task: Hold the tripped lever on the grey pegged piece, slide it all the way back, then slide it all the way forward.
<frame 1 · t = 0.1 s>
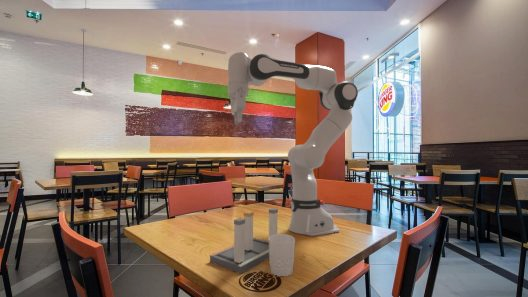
hand: (238, 123, 113), 48 cm above the table, tool pointing down, fingers open, 8 cm apart
white cup: (281, 272, 78), on the table
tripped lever: (248, 230, 89), point 9 cm above the table, slide at 0.0 cm
grey pegged piece: (248, 256, 89), on the table
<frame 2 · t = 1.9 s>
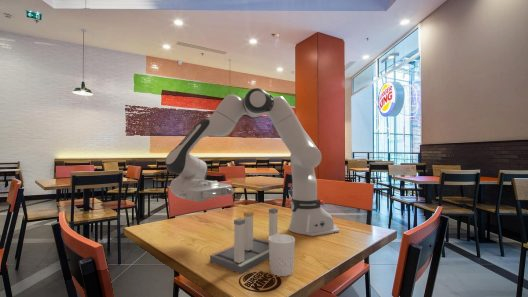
hand: (223, 194, 97), 20 cm above the table, tool horizontal, fingers open, 8 cm apart
nothing on the table moved.
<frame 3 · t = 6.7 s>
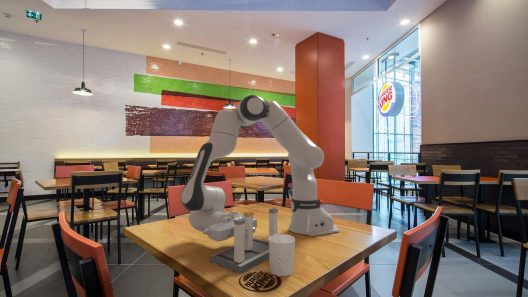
hand: (250, 231, 89), 9 cm above the table, tool horizontal, fingers closed on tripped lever, 2 cm apart
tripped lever: (248, 230, 89), point 9 cm above the table, slide at 0.0 cm, touching gripper
everything else where it was.
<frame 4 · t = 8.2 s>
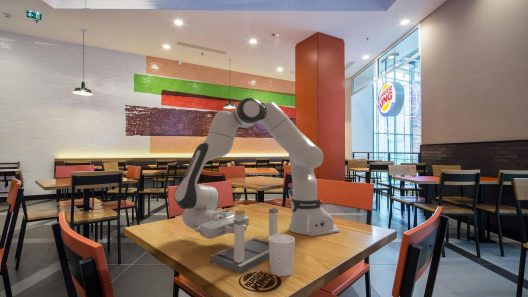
hand: (241, 229, 91), 9 cm above the table, tool horizontal, fingers closed on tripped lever, 2 cm apart
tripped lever: (239, 228, 92), point 9 cm above the table, slide at -4.1 cm, touching gripper
everything else where it was.
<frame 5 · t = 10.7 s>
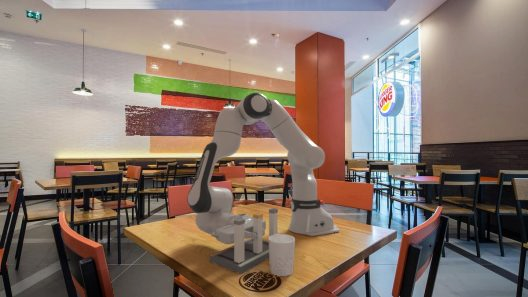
hand: (260, 234, 86), 8 cm above the table, tool horizontal, fingers closed on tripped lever, 2 cm apart
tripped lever: (257, 232, 87), point 9 cm above the table, slide at 4.1 cm, touching gripper
everything else where it was.
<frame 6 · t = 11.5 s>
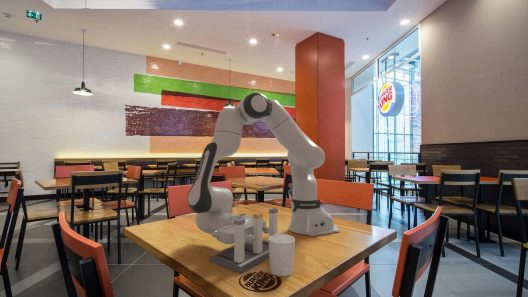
hand: (260, 234, 86), 8 cm above the table, tool horizontal, fingers open, 8 cm apart
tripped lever: (257, 232, 87), point 9 cm above the table, slide at 4.0 cm
everything else where it was.
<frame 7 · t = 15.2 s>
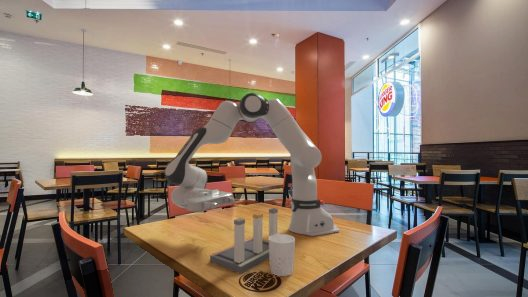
hand: (224, 203, 97), 16 cm above the table, tool horizontal, fingers open, 8 cm apart
nothing on the table moved.
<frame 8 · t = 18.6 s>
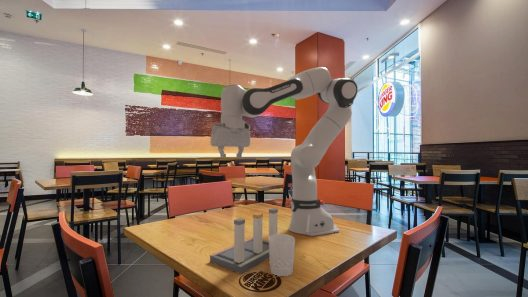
hand: (231, 157, 108), 33 cm above the table, tool pointing down, fingers open, 8 cm apart
nothing on the table moved.
at the end: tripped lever slide at 4.0 cm; the gripper is holding nothing; white cup moved 0.2 cm from its start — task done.
